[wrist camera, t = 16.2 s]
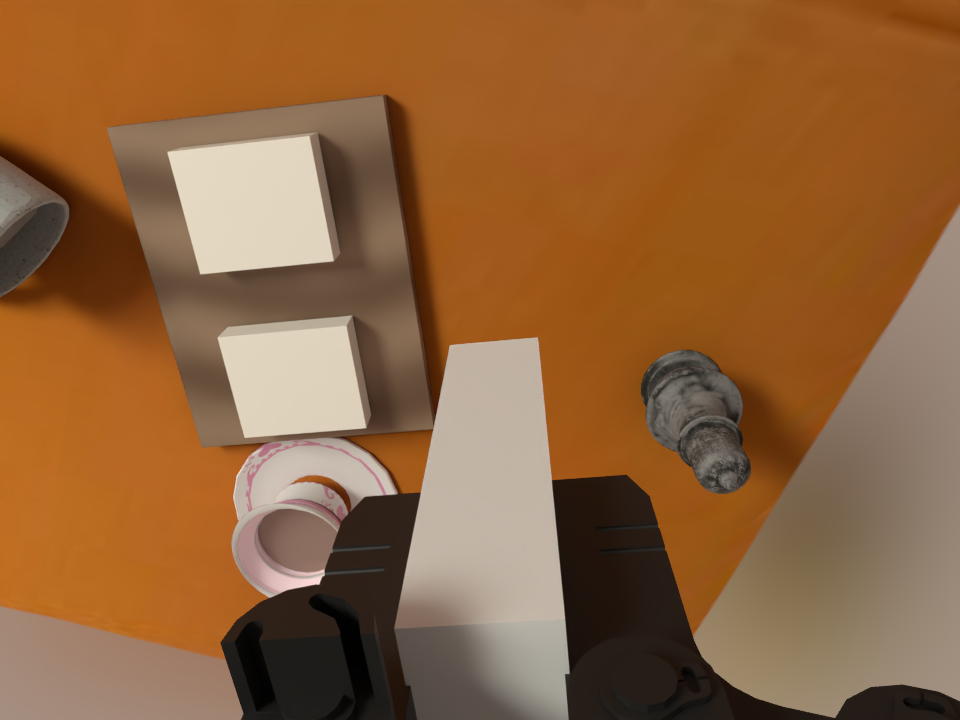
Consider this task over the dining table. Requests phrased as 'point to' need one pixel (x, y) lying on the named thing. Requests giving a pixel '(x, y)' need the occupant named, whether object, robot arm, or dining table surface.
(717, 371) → the grey stone finial
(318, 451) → the teacup
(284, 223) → the tile
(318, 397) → the tile
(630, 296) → the dining table surface
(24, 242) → the ceramic mug
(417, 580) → the robot arm
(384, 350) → the walnut board
